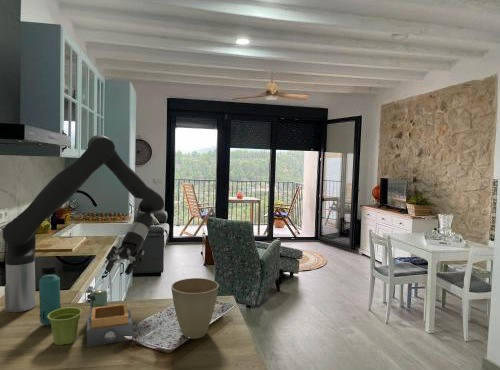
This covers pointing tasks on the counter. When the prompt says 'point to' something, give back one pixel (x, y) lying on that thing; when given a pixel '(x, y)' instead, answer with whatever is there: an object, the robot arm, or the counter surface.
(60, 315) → the plant pot
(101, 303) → the spout can
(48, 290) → the beverage bottle
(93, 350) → the counter surface
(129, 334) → the gearbox
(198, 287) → the plant pot
